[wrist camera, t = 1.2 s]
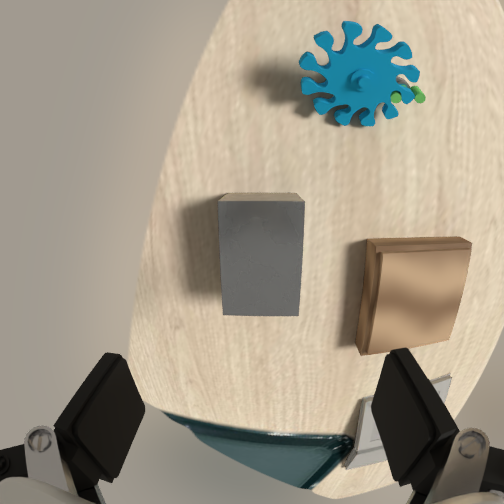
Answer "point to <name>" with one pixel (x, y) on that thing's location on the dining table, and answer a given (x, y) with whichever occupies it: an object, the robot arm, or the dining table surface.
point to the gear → (361, 75)
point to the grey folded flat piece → (367, 434)
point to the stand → (411, 292)
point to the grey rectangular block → (261, 253)
